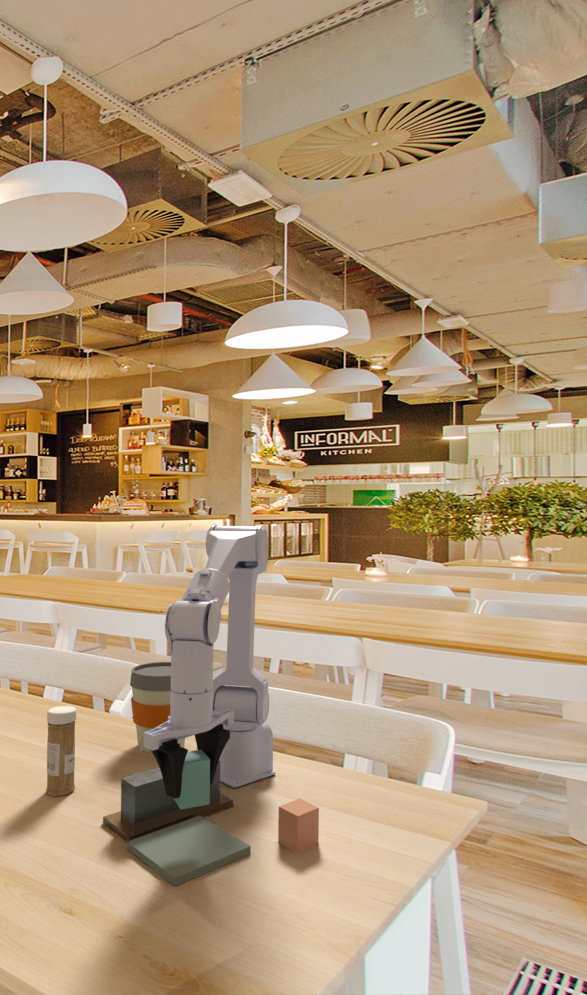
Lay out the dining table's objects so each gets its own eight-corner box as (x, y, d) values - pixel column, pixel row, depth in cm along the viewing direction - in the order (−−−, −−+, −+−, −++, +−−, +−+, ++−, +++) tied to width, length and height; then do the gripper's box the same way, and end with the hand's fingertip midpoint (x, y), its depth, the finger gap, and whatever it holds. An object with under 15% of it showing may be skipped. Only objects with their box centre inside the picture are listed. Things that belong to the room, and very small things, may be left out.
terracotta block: (299, 833, 97) (299, 798, 97) (318, 843, 94) (318, 807, 94) (278, 842, 94) (278, 806, 94) (297, 853, 91) (297, 816, 91)
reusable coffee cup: (197, 753, 128) (199, 674, 128) (130, 759, 124) (131, 678, 124) (189, 732, 140) (190, 660, 140) (127, 737, 136) (128, 663, 136)
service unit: (203, 790, 111) (204, 747, 111) (233, 806, 105) (233, 761, 105) (103, 823, 99) (103, 775, 99) (129, 843, 93) (130, 793, 93)
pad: (199, 822, 100) (199, 815, 100) (250, 853, 91) (250, 846, 91) (126, 849, 92) (127, 841, 92) (174, 886, 83) (175, 877, 83)
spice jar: (78, 793, 109) (79, 710, 109) (49, 799, 107) (51, 714, 107) (70, 783, 113) (72, 703, 113) (42, 789, 110) (44, 707, 111)
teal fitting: (201, 792, 94) (201, 749, 94) (209, 804, 90) (210, 759, 90) (172, 797, 92) (173, 753, 92) (180, 809, 89) (181, 763, 89)
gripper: (210, 674, 100) (209, 766, 99) (130, 693, 89) (128, 797, 88) (244, 682, 95) (243, 779, 95) (164, 704, 84) (162, 813, 84)
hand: (189, 788), depth 91 cm, fingers closed on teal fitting, 5 cm apart
